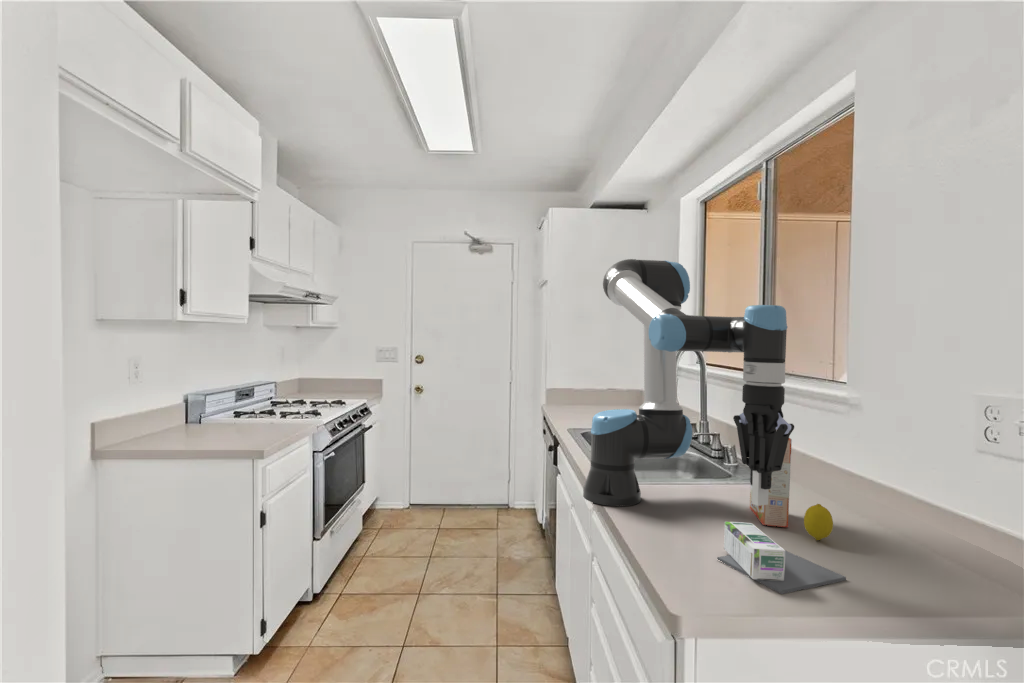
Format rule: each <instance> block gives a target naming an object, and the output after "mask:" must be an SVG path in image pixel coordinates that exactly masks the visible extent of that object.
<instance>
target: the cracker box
mask: <svg viewBox="0 0 1024 683" xmlns="http://www.w3.org/2000/svg"><path fill="white" fill-rule="evenodd" d="M792 442H793V440H792V438H790V437H789V440H788V444H787V448H786V452H785V456H784V460H783V464H782V468H781V470H780V471H774V472H772V476H771V488H770V489H769V493H768V505H760V506H757V505H754V504H752V485H751V484H750V487H749V488H750V491H749V510H751V512H752V513H753V514H754V515H755V517H756V518H757V519H758V521H759V522H760V523H761V524H762V526H766V525H767V526H768V527H776V526H777V528H778V527H779V528H789V516H790V514H789V512H790V511H789V510H790V509H789V508H790V489H791V486H790V484H791V483H790V482H791V462H792Z"/></svg>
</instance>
